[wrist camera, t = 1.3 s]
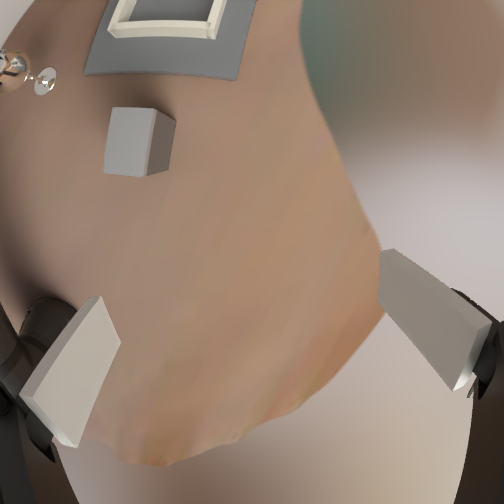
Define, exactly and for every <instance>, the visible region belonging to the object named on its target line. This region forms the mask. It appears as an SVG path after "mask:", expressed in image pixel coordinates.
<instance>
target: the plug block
mask: <svg viewBox="0 0 504 504" xmlns="http://www.w3.org/2000/svg"><path fill="white" fill-rule="evenodd" d="M176 122H177V121H175V120H173V119H172V118H170V117H168V116H166V115H165V114H163V113H161V112H159V111H158V110H156V109H153V108H131V107H113V108H112V113H111V118H110V123H109V129H108V135H107V142H106V149H105V157H104V165H103V173H107V174H118V175H128V176H137V177H145V176H148V175H152V174H155V173H159V172H163V171H166V170H168V168H169V162H170V155H171V149H172V143H173V138H174V132H175V127H176Z"/></svg>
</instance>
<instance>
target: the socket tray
mask: <svg viewBox="0 0 504 504" xmlns="http://www.w3.org/2000/svg"><path fill="white" fill-rule="evenodd" d="M256 1H257V0H110V1H109V3H108V5H107V7H106V10H105V12H104V14H103V17H102V19H101V22H100V24H99V27H98V30H97V32H96V35H95V38H94V41H93V44H92V47H91V50H90V53H89V56H88V59H87V63H86V66H85V70H84V73H83V74H85V75H87V76H89V75H103V74H131V73H144V74H173V75H187V76H198V77H207V78H216V79H223V80H230V81H236V80H237V75H238V71H239V67H240V63H241V58H242V54H243V50H244V46H245V42H246V38H247V34H248V30H249V26H250V23H251V19H252V15H253V11H254V8H255V4H256Z"/></svg>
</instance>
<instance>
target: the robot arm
mask: <svg viewBox="0 0 504 504" xmlns="http://www.w3.org/2000/svg"><path fill="white" fill-rule="evenodd" d="M377 302H378V303H379V305H380V306H381V307H382V308H383V309H384V310H385V311H386V312H387V313H388V315H389V316H390V317H391V318H392V319H393V320H394V321H395V323H396V324H397V325H398V326H399V327H400V328H401V329H402V331H403V332H404V333H405V334H406V335H407V336H408V338H409V339H410V340H411V341H412V342H413V344H414V345H415V346H416V347H417V348H418V349H419V351H420V352H421V353H422V354H423V356H424V357H425V358H426V359H427V360H428V362H429V363H430V364H431V365H432V367H433V368H434V369H435V370H436V371H437V373H438V374H439V375H440V377H441V378H442V379H443V380H444V382H445V383H446V384H447V386H448V387H449V388H450V389H451V391H452V392H453V391H455V390H456V389H458V388H460V387H462V386H463V385H465V384H467V382H468V379H469V378H470V376H471V374H472V372H474V373H475V375H476V376H477V377H476V379H475V381H474V383H473V385H472V387H471V389H470V391H469V393H468V395H467V398H469V397H470V396H471V394H472V392H473V391H474V395H473V409H472V419H471V428H470V435H469V442H468V448H467V454H466V458H465V463H464V468H463V472H462V476H461V480H460V484H459V487H458V491H457V494H456V498H455V501H454V504H504V321H502V322H501V323H500V322H499V321H498V320H496V319H495V318H494V317H493V316H491V315H490V314H489V313H488V312H487V311H485V310H484V309H482V307H480V306H479V305H477V304H476V303H475V302H474V301H473V300H470V298H469V297H467V296H466V295H465V294H463V293H462V292H460V291H457V290H455V289H453V288H449V287H448V286H446V285H445V284H444V283H442V282H441V281H439V280H438V279H437V278H435V277H434V276H433V275H431V274H430V273H429V272H427V271H426V270H424V269H423V268H422V267H420V266H419V265H417V264H416V263H414V262H413V261H411V260H410V259H408V258H407V257H406V256H404V255H403V254H401V253H399V252H398V251H397V250H395V249H389V250H383V251H380V272H379V287H378V300H377ZM120 344H121V341H120V339H119V337H118V335H117V333H116V330H115V328H114V326H113V324H112V321H111V319H110V317H109V314H108V312H107V309H106V307H105V304H104V302H103V299H102V297H101V296H98V297H90V298H88V299H87V300H86V302H85V303H84V304H83V305H82V307H81V308H80V309H79V310H78V312H77V311H76V310H74V309H73V308H72V307H71V306H69V305H68V304H66V303H64V302H62V301H60V300H58V299H54V298H41V299H39V300H37V301H36V302H35V303H34V304H33V305H32V306H31V307H30V308H29V309H28V311H27V313H26V316H25V319H24V321H23V323H22V326H21V329H20V331H19V334H18V335H17V333H16V331H15V330H14V328H13V326H12V324H11V322H10V321H9V319H8V317H7V315H6V313H5V311H4V309H3V307H2V305H1V303H0V504H79V502H78V500H77V498H76V496H75V494H74V492H73V490H72V487H71V485H70V483H69V480H68V478H67V475H66V473H65V470H64V468H63V465H62V462H61V460H60V457H59V454H58V451H57V448H56V446H55V444H54V443H53V442H52V441H51V440H52V438H53V435H54V436H55V437H56V438H57V439H58V440H59V441H60V442H61V443H62V444H63V445H67V446H71V447H75V448H77V447H78V444H79V442H80V439H81V436H82V434H83V431H84V428H85V426H86V423H87V420H88V418H89V415H90V413H91V410H92V408H93V405H94V403H95V400H96V398H97V395H98V393H99V391H100V388H101V386H102V384H103V381H104V379H105V377H106V375H107V372H108V370H109V368H110V366H111V363H112V361H113V359H114V357H115V355H116V353H117V350H118V348H119V346H120Z"/></svg>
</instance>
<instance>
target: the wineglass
mask: <svg viewBox="0 0 504 504" xmlns="http://www.w3.org/2000/svg"><path fill="white" fill-rule="evenodd" d="M30 66H31V64H30V59H29V57H28V55H27V54H26V53H24V52H23V51H20V50H16V49H2V50H0V94H9V93H12V92H14V91H16V90H17V89H19V88H20V87H21V86H22V85H23V83H24V82H25V80H29V79H33V80H36V81H35V86H34V88H35V92H36V94H38V95H45V94H46V93H48V92H49V91H50V90H51V89H52V87H53V85H54V83H55V81H56V76H57V74H56V70H55V69H54V68H52V67H48V68H46V69H44V70H43V71H42V72H41V73H40V74H39V75H38V77H35V76H33V75H31V74H30V73H29V71H30Z"/></svg>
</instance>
